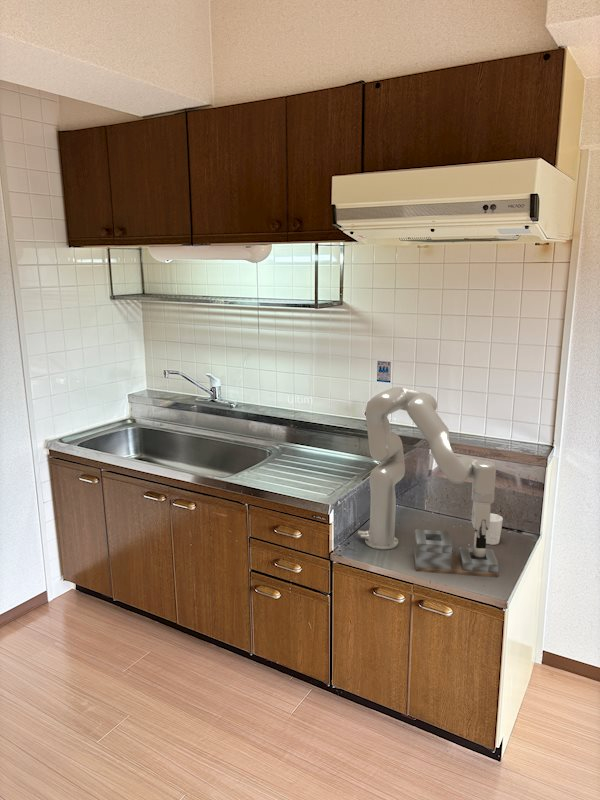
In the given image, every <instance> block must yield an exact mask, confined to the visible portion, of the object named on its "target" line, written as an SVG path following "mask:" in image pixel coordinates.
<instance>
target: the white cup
mask: <svg viewBox="0 0 600 800" xmlns="http://www.w3.org/2000/svg"><path fill="white" fill-rule="evenodd" d="M503 522H504V521H503V516H501V514H496V513H491V512H490V526H489V530H488V531H487V530H486V545H492V546H495V545H498V544H500V540H501V535H502V534H501V533H502V528H503Z"/></svg>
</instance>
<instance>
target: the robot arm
mask: <svg viewBox="0 0 600 800" xmlns="http://www.w3.org/2000/svg"><path fill="white" fill-rule="evenodd" d="M437 404H438V402H437V400H436V399H435V397H434V396H433V395H432V394H429V393H426V392H423V391H418V390H415V389H410V388H405V387H401V386H395V387H394V386H393V387H392V388H389V389H387V390H384V391H382V392H379V393H377V394H376V395H375V396H373V397H371V399H370V400H369V401H368V402H367V404H366V407H365V411H364V412H365V421H366V428H367V429H366V430H367V437H368V438H367V440H368V448H369V454H370V456H371V458H372V460H374V461H376V462H380V463H379V464H378V465H376V466H375V467H373V468H372V470H371V472H370V474H369V482H368V483H369V489H370V511H369V528H368V530H357V536H360V538H362V539H364V541H365V542H364V543H365V544H366V545H367V546H368V547H370V548H372V549H375V550H376V549H377V550H391V549H395V548H396V547H398V544H399V540H398V538H397V537H396V536H395V533H396V531H395V529H396V527H395V526H396V503H397V500H396V499H397V498H396V497H397V496H396V491H395V488H396V487H395V486H396V484H398V483H399V482H400V481H401V480H402V479H403V478H404V476H405V473H406V465H405V455H404V447H403V446H404V445H403V441H402V439H401V437H400V436H399V434H398V433H396V432H394V431H391V424H390V420H389V418H388V416H389V415H390V414H393V413H395V412H397V411H399V410H402V411H406V412H407V415H408V416H409V418H410V419H411V421H412V422H413V423H414V424H415V426H416V427H417V429H418V431H420V433H421V434H422V436H423V437H424V439H426V441H427V443H428V445H429V450H430V452H431V454H432V456H433V459H434V461H435V463H436V465H437V467H438V468H439V469H440V471H441V472H442V473H443V475H444V477H445V478H447V480H448V481H450V482H451V483H452V484H454V485H455V484H456V485H457V484H458V485H461V484H463V483H465V482H466V481H468V480H469V479H470V478H472V482H471V483H472V484H471V501H472V509H471V510H472V511H471V524H472V527H473V530H474V533H473V535H475V532H476V531H478V537H477V538H476V548H482V549H487V548H486V545H487V544H486V530H487V531H488V530H489V526H490V513H491V505H492V504H494V502H495V489H496V475H497V466H496V464H495V463H494V462H493V461H490V460H483V459H482V460H481V459H477V458H474V457H471V456H467V455H462V456H459V457H458V456H457V455H456V454H455V452H454V450H453V448H452V446H451V443H450V431H449V428H448V426H447V425H446V424H445V422H444V421H443V419H442V418H441V417H440V416H439V414H438V413H437V408H438V405H437ZM480 531H482V532H481V533H480Z"/></svg>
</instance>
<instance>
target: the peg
mask: <svg viewBox="0 0 600 800" xmlns="http://www.w3.org/2000/svg"><path fill="white" fill-rule="evenodd" d="M481 532H482V531H480V533H481ZM474 533H475V535H474V534H473V535H474V536H473V548H474V550H473V554H474V555H475V556H477V557H484V556H485V549H486V548H485V549H482V548H476V538H477V537H478V531H476V532H475V531H474Z"/></svg>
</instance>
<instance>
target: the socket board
mask: <svg viewBox="0 0 600 800" xmlns="http://www.w3.org/2000/svg"><path fill="white" fill-rule="evenodd" d="M413 547H414V549H413V555H414V567H415V572H422V571H423V572H424V573H436V574H438V573H439V574H451V575H452V574H453V575H464V576H465V575H467V576H477V577H479V576H480V577H491V578H492V577H494V578H498V577H499V562H498V560H497V557H496V555H495V552H494V549H491V548H485V556H484V557H477V556H475V555H474V554H473V550H474V547H462V546H461V547H460V546H459V547H458V553H455V552H454V553H453V543H452V539H451V534H450V531H448V530H436V529H435V530H433V529H418V528H416V529H415V530H414V546H413ZM423 572H422V573H423Z"/></svg>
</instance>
